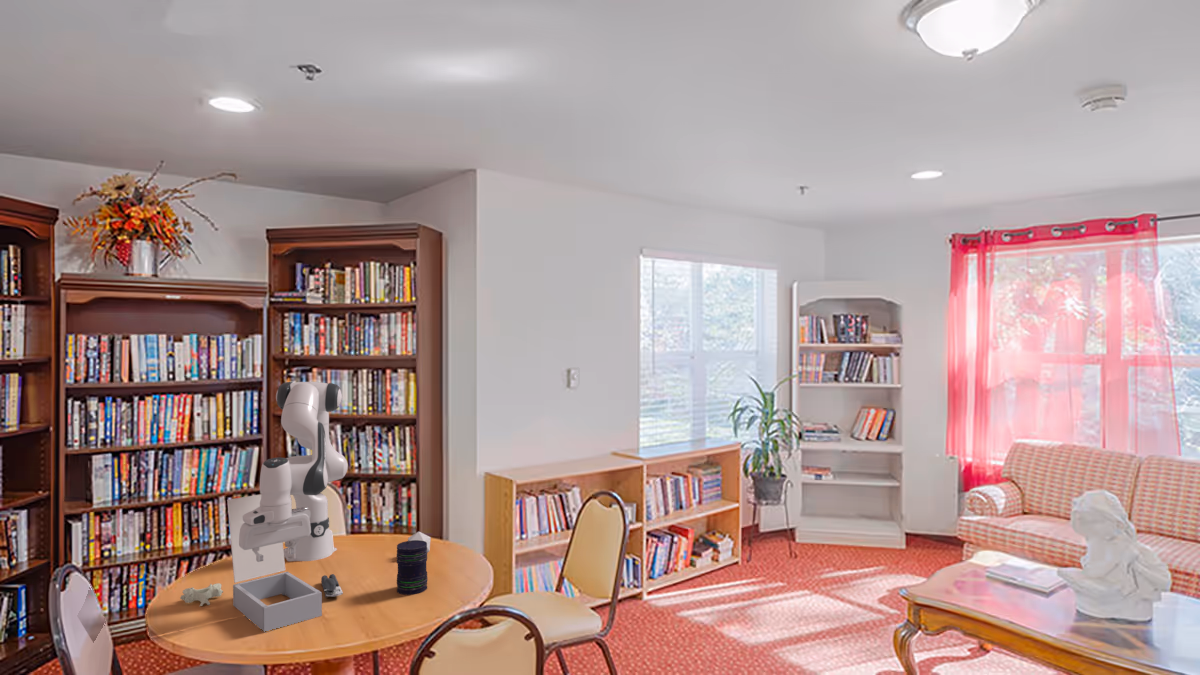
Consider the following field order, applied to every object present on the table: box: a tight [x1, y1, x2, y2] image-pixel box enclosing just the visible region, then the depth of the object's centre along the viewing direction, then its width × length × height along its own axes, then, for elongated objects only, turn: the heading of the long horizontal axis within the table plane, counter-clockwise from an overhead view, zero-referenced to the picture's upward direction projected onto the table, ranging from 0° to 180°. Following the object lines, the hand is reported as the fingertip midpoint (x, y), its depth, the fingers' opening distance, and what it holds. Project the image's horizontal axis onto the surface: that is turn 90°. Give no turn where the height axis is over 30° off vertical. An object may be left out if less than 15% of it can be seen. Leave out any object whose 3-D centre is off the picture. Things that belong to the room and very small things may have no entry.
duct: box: [232, 571, 323, 633], centre depth 207 cm, size 26×16×7 cm, turn 46°
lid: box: [226, 493, 286, 584], centre depth 219 cm, size 26×15×1 cm
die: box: [407, 531, 432, 553], centre depth 257 cm, size 8×9×10 cm
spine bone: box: [179, 583, 224, 607], centre depth 214 cm, size 12×10×5 cm
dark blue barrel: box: [396, 540, 428, 596], centre depth 224 cm, size 10×10×15 cm
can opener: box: [320, 573, 343, 599], centre depth 223 cm, size 19×5×6 cm, turn 28°
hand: (276, 557), depth 207 cm, fingers open, 8 cm apart
